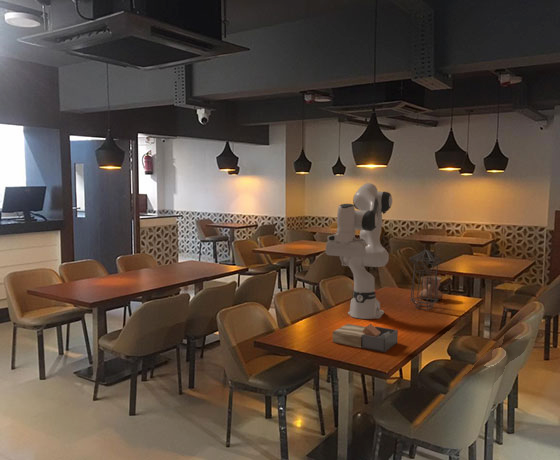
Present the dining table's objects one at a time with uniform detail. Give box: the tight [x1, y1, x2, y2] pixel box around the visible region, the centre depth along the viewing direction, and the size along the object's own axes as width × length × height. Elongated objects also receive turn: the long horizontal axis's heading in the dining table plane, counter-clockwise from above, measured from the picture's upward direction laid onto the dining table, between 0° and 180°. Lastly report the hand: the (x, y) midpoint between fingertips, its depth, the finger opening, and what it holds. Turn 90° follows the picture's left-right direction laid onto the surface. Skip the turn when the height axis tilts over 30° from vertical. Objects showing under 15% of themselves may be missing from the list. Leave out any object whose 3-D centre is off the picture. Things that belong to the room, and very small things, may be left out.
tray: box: [361, 326, 399, 353], centre depth 220 cm, size 16×11×6 cm
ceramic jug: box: [418, 275, 443, 302], centre depth 315 cm, size 18×14×14 cm
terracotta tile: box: [362, 323, 381, 337], centre depth 222 cm, size 6×6×3 cm
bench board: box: [332, 323, 366, 349], centre depth 227 cm, size 16×14×5 cm
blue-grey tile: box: [379, 331, 390, 338], centre depth 220 cm, size 6×6×3 cm
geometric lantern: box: [409, 249, 443, 311], centre depth 292 cm, size 16×16×35 cm
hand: (345, 265), depth 238 cm, fingers closed
